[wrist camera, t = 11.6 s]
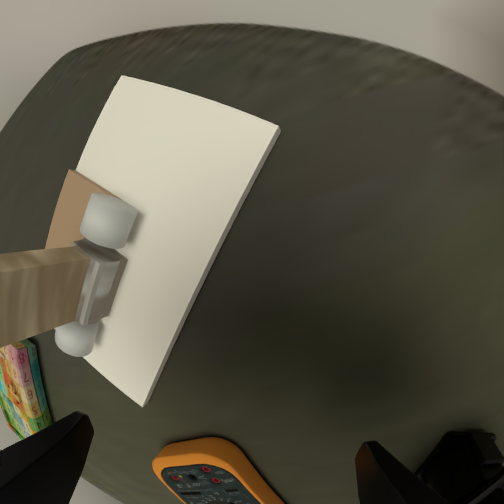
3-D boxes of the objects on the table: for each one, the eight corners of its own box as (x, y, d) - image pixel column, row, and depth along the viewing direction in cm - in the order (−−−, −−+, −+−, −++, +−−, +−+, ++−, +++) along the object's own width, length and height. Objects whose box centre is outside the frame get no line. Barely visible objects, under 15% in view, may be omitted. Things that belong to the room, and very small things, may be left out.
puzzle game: (11, 352, 20) (49, 470, 22) (42, 340, 25) (68, 455, 27) (-26, 314, 23) (5, 428, 25) (-1, 308, 27) (23, 417, 30)
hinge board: (281, 131, 17) (267, 103, 13) (148, 401, 21) (119, 427, 17) (128, 79, 19) (95, 59, 15) (46, 309, 23) (14, 319, 19)
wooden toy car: (130, 260, 19) (-10, 286, 8) (110, 317, 20) (-8, 364, 9) (99, 237, 19) (-31, 247, 9) (83, 292, 20) (-32, 324, 10)
